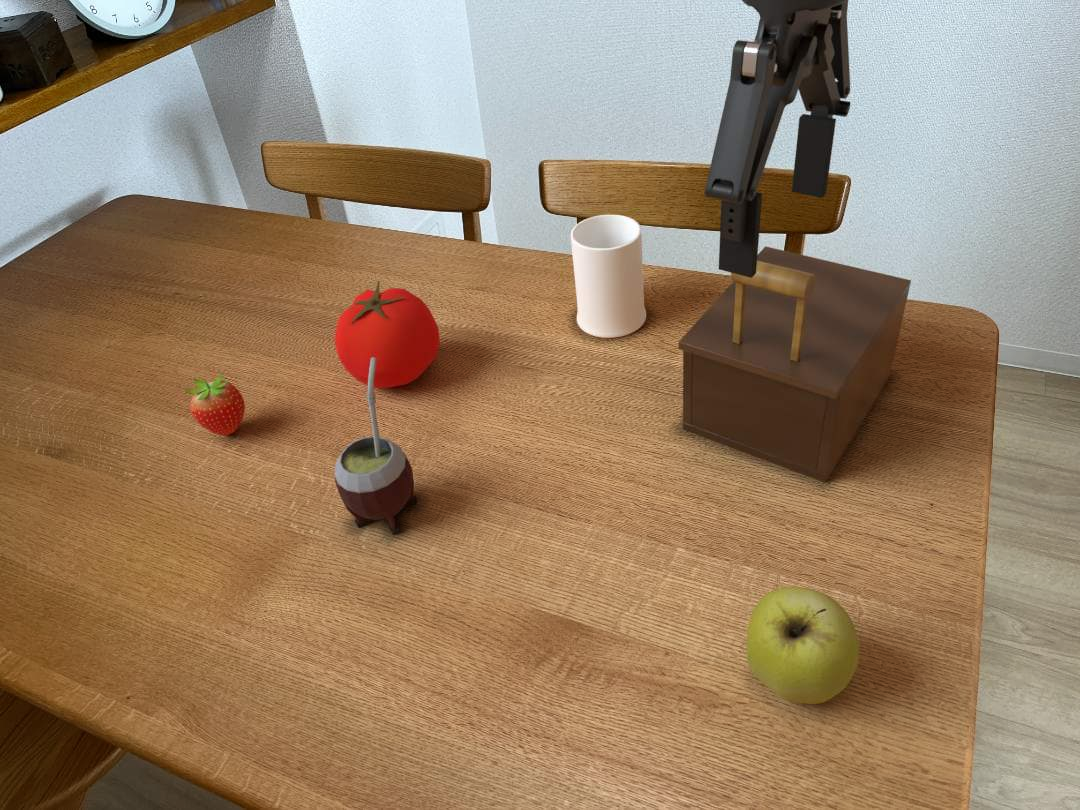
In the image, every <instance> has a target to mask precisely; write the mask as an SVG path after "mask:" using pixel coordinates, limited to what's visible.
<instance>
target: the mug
mask: <svg viewBox="0 0 1080 810" xmlns="http://www.w3.org/2000/svg"><path fill="white" fill-rule="evenodd" d="M642 234H643V233H642V227H641V225H640V223H639V222H637V220H635V219H633V218H632V217H629V216H626V215H622V214H600V215H595V216H590V217H588V218H586V219H583V220H581V221H580V222H578V223H577V224H576V225H575V226H573V228H572V229H571V231H570V243H571V255H572V265H573V275H574V285H575V295H576V304H577V306H576V307H577V314H576V324H577V325H578V327H579V328H580V329H581V330H582V331H583V332H584V333H586V334H588V335H589V336H593V337H597V338H603V339H615V338H621V337H625V336H629V335H630V334H633V333H634V332H636V331H638V330H639V329H640V328H641V327H642V326H643V325H644V324H645V322H646V319H647V310H646V307H645V295H644V269H643V268H644V264H643V239H642V237H643V236H642Z"/></svg>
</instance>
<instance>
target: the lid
mask: <svg viewBox="0 0 1080 810" xmlns="http://www.w3.org/2000/svg"><path fill="white" fill-rule="evenodd" d="M730 279H731V283H730V284H729V285H728V287H727V288H726V289H725V290H724V291H723V292H722V293H721V294H720V296H718V298H717V299H715V301H714V302H713V303H712V304H711V305H710V306H709V307H708V309H707V310H705V312H704V313H703V314H702V315H701V316H700V318H699V319H697V321H696V322H695V323H694V324H693V325H692V326H691V327H690V328H689V330H688V331H687V332H686V333H685V334H684V335H683V336H682V337H681V338H680V340H679V341H678V350H680V351H682V352H683V351H686V352H689V353H692V354H696V355H699V356H702V357H705V358H708V359H711V360H714V361H717V362H721V363H724V364H727V365H730V366H733V367H736V368H739V369H742V370H746V371H749V372H752V373H755V374H758V375H761V376H764V377H768V378H771V379H774V380H777V381H780V382H783V383H786V384H789V385H793V386H796V387H799V388H802V389H805V390H808V391H811V392H814V393H818V394H821V395H824V396H827V397H830V398H833V399H837V398H838V396H839V395H840V393H841V392H842V390H843V389H844V387H845V386H846V384H847V383H848V381H849V379H850V378H851V376H852V375H853V373H854V372H855V370H856V369H857V367H858V366H859V364H860V363H861V361H862V360H863V358H864V357H865V355H866V353H867V352H868V350H869V349H870V347H871V346H872V344H873V343H874V341H875V340H876V338H877V337H878V335H879V334H880V332H881V331H882V329H883V328H884V326H885V324H886V323H887V321H888V320H889V318H890V317H891V315H892V314H893V312H894V311H895V309H896V308H897V306H898V305H899V303H900V302H901V300H902V298H903V297H904V295H905V294H906V292H907V291H908V289H909V290H910V288H911V282H912V280H911V279H907V278H903V277H898V276H894V275H890V274H886V273H882V272H877V271H872V270H868V269H864V268H860V267H856V266H852V265H848V264H844V263H839V262H835V261H830V260H825V259H821V258H818V257H813V256H808V255H804V254H800V253H796V252H791V251H787V250H783V249H778V248H774V247H770V246H764V247H763V248H762V249H761V250H760V251H759V252H758V255H757V268H756V274H755V275H754V276H753V277H752V278H750V277H746V276H742V275H738V274H734V273H731V272H730Z"/></svg>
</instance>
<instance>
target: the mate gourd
mask: <svg viewBox="0 0 1080 810" xmlns="http://www.w3.org/2000/svg"><path fill="white" fill-rule="evenodd" d="M375 366H376V358H371V361H370V369H369V377H368V385H367V392H366V401H367V404H368V408H369V415H370V423H371V429H372V436H365V437H362V438H359V439H357V440H354V441H352V442H351V443H350V444H349V445H347V446H346V447H345V448H344V449H343V451H341V453H340V454H339V457H337V460H336V463H335V468H334V483H335V486H336V489H337V493H338V494H339V496H340V498H341V500H342V503H343V505H344V507H345V508H346V510H347V511H348V512H349V513H350V514H351V516H353V517H354V518H355V519H354V523H355V525H356V526H357V528H361V527H364V526H366V525H369V524H371V523H374V522H377V521H379V520H385V522H386V525H387V526H388V527H387V528H389V531H390V533H391V534H392V536H394V535H395V536H396V535H398V534H399V533H401V531H400V527H399V525H398V523H397V520H396V518H395V516H396V515H397V514H398V513H399V512H400V511H403V510H405V509H407V508H410V507H412V506H415V505H417V504H418V498H417V496H416V495H415V494H414V491H415V479H414V472H413V467H412V465H411V463H410V461H409V459H408V457H407V455H406V453H405V452H404V451H403V448H402V447H401V446H400V445H398V444H397V443H395V442H393V441H391V440H390V439H387V438H386V437H382V436H380V432H379V424H378V417H377V411H376V410H377V409H376V403H377V400H376V399H377V398H376V392H375V390H374V389H375V387H374V375H375Z"/></svg>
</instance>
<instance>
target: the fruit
mask: <svg viewBox="0 0 1080 810" xmlns="http://www.w3.org/2000/svg"><path fill="white" fill-rule="evenodd" d="M193 380H194V383H195V385H196V387H198V388H190V389H186V388H184V389H182V390H183V391H185V392H186V393H188V394H193V396H192V397H191V400H190V405H189V408H190V413H191V415H192V417H193V418H194V420H195V421H196V422H197V423H198V424H199V425H200V426H201V427H203V428H204V429H205V430H207V431H209V432H211V433H212V434H216V435H219V436H228V435H231V434H233V433H236V431H237V430H238V429H239V428H240V425H241V424H242V422H243V419H244V416H245V411H246V405H245V404H246V403H245V399H244V398H243V394H241V391H240V390H239V389H238V388H237V387H236V386H235V385H234V384H232V383H230V382H229V381H230V379H228V380H223V373H222V374H221V375H219V376H218V377H217V378H216V379H215V380H212V381H209V382H207V380H206V378H203V380H200V379H197V378H195V377H194V378H193Z"/></svg>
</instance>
